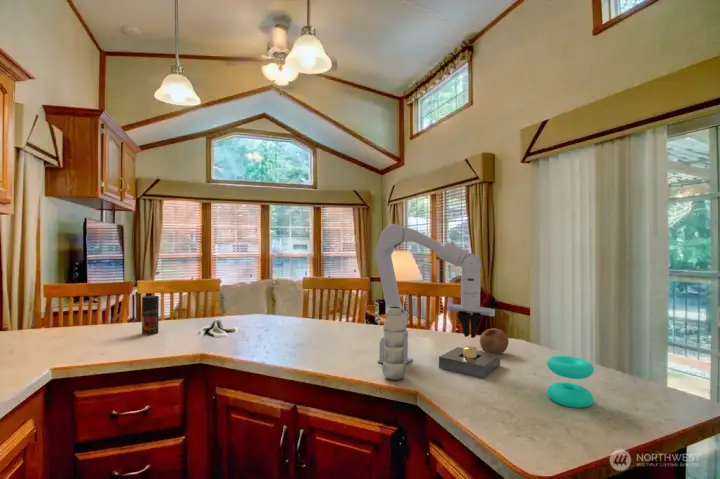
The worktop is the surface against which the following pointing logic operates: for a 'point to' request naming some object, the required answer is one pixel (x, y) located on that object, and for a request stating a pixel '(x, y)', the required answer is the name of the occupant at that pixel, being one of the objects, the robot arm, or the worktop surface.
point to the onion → (494, 341)
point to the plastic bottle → (394, 345)
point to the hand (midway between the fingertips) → (470, 336)
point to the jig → (469, 363)
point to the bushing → (470, 352)
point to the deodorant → (150, 315)
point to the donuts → (568, 391)
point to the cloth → (216, 329)
